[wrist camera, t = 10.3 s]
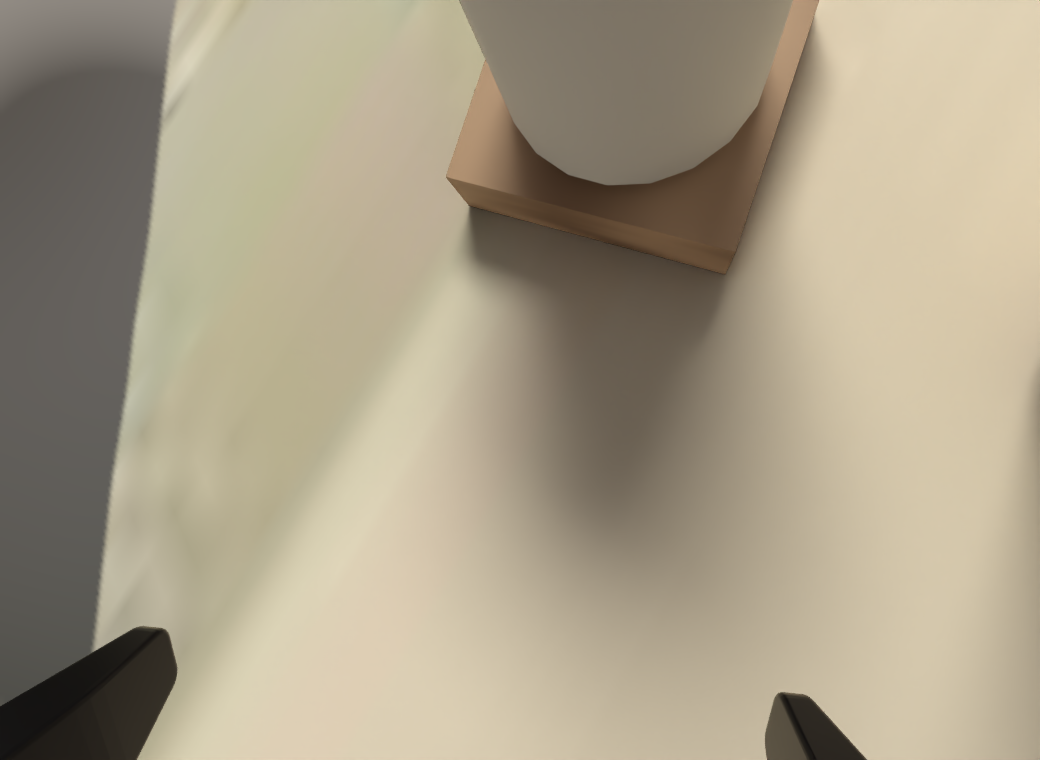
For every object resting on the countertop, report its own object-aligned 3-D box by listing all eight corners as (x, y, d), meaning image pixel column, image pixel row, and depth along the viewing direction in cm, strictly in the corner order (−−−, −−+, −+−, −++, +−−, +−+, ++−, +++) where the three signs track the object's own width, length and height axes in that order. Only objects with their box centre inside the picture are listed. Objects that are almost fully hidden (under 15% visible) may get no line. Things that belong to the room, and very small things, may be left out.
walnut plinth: (813, 8, 20) (836, -53, 17) (725, 274, 19) (735, 251, 17) (550, -36, 22) (537, -95, 19) (469, 205, 22) (445, 176, 19)
